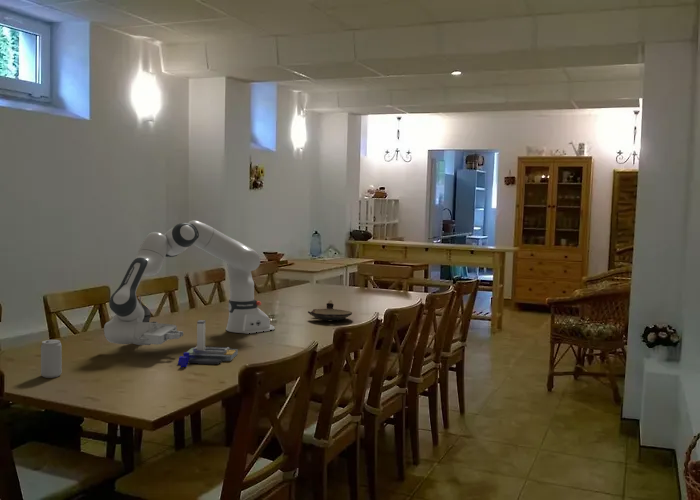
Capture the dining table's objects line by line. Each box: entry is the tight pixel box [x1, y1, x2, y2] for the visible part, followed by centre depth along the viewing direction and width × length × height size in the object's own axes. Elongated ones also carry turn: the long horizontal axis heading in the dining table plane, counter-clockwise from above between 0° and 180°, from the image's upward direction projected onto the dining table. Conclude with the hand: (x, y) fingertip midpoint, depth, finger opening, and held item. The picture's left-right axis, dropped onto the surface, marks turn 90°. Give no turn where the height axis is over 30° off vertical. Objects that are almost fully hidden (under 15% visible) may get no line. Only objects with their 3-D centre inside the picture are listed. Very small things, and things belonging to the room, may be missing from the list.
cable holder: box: [177, 351, 190, 369], centre depth 240 cm, size 8×4×4 cm, turn 6°
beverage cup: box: [138, 295, 152, 322], centre depth 273 cm, size 7×7×20 cm
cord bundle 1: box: [205, 345, 232, 349], centre depth 263 cm, size 12×3×1 cm, turn 87°
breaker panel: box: [186, 345, 239, 362], centre depth 253 cm, size 18×12×4 cm, turn 87°
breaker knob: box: [196, 319, 206, 350], centre depth 253 cm, size 2×3×12 cm
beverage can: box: [40, 339, 63, 379], centre depth 221 cm, size 6×6×12 cm
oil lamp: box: [307, 299, 353, 321], centre depth 337 cm, size 22×30×8 cm
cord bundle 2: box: [189, 359, 223, 365], centre depth 243 cm, size 12×3×1 cm, turn 87°
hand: (181, 335), depth 253 cm, fingers closed
